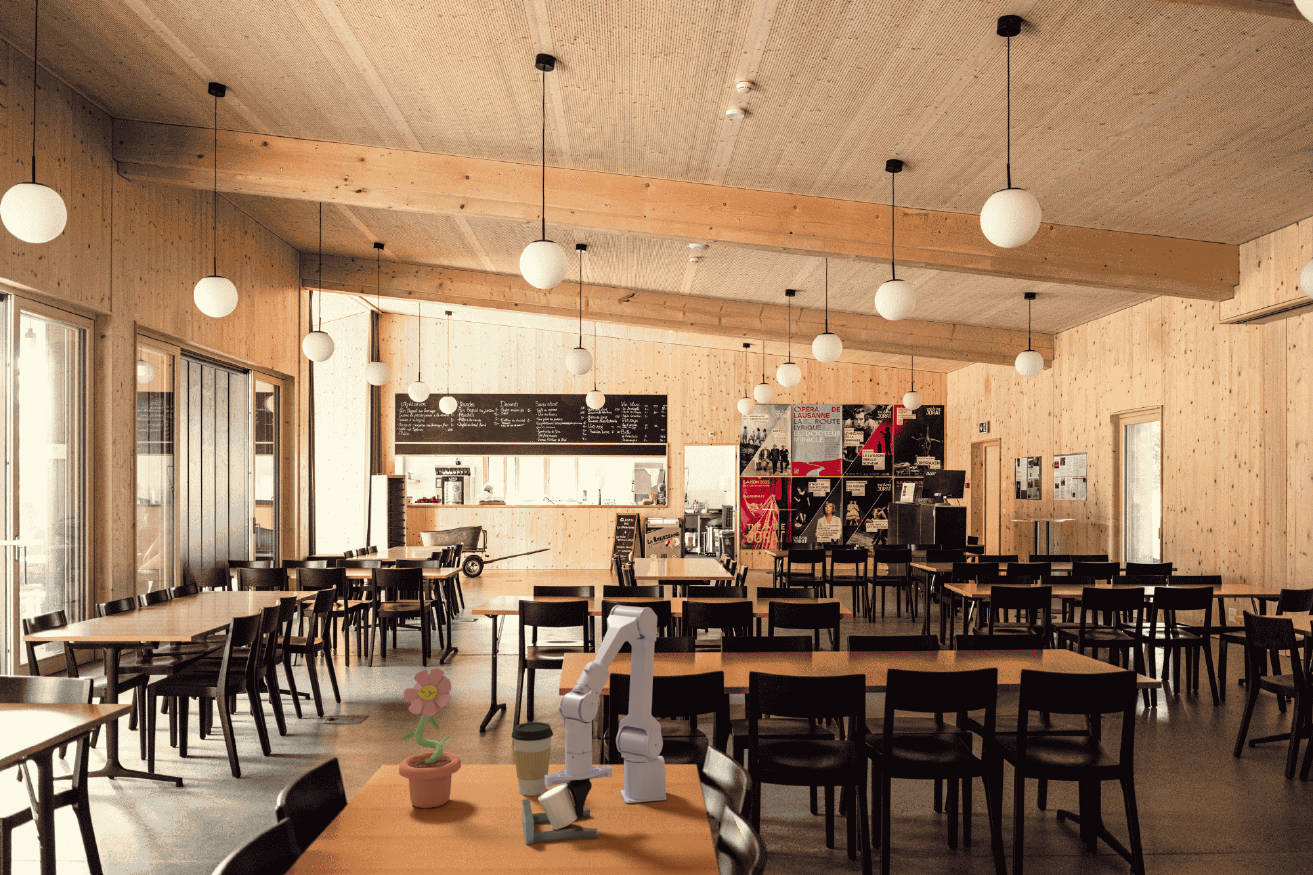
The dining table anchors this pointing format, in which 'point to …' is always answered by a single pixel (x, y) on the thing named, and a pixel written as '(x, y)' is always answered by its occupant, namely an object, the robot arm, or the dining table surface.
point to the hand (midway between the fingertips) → (578, 815)
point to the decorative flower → (429, 743)
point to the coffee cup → (532, 756)
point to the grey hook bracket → (554, 835)
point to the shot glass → (558, 806)
